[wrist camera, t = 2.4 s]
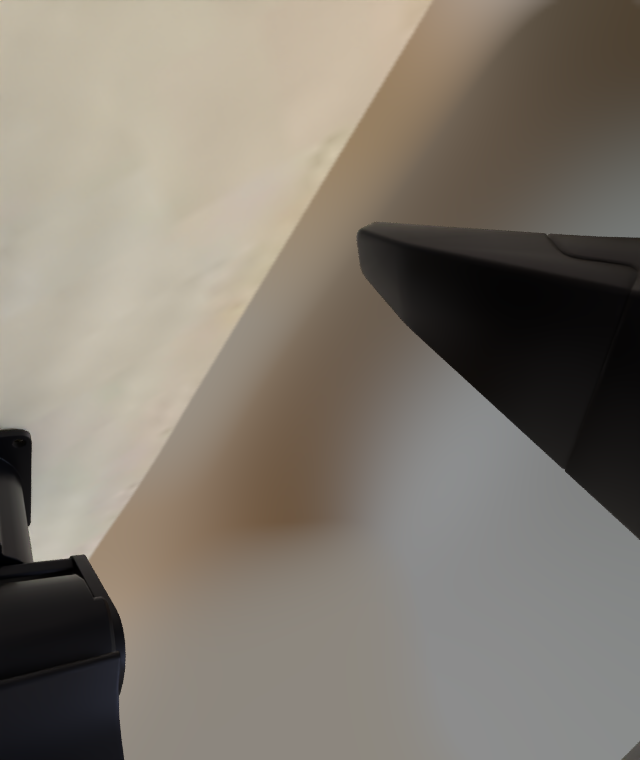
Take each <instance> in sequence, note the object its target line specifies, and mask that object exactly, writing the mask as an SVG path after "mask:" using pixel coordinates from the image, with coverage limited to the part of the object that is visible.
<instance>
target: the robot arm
mask: <svg viewBox="0 0 640 760" xmlns="http://www.w3.org/2000/svg"><path fill="white" fill-rule="evenodd" d="M357 246H358V253H359V261H360V267H361V270H362V273H363V274H364V276H365V278H366V279H367V280H368V281H369V282H370V284H371V285H372V286H373V287H374V288H375V289H376V291H377V292H378V293H379V294H380V295H381V296H382V298H383V299H384V300H385V301H386V302H387V303H388V305H389V306H390V307H391V308H392V309H393V310H394V312H395V313H396V314H397V315H398V316H399V317H400V319H401V320H402V321H403V322H404V323H405V324H406V325H407V326H408V327H409V328H410V329H411V330H412V331H413V332H414V333H415V334H416V335H418V336H419V337H420V338H421V339H422V340H423V341H424V342H425V343H426V344H427V345H428V346H430V347H431V348H432V349H433V350H434V351H435V352H436V353H437V354H438V355H439V356H440V357H441V358H443V359H444V360H445V361H446V362H447V363H448V364H449V365H450V366H451V367H452V368H453V369H455V370H456V371H457V372H458V373H459V374H460V375H461V376H462V377H463V378H464V379H465V380H467V381H468V382H469V383H470V384H471V385H472V386H473V387H474V388H475V389H476V390H477V391H479V392H480V393H481V394H482V395H483V396H484V397H485V398H486V399H488V401H489V402H491V403H492V404H493V405H494V406H495V407H496V408H497V409H498V410H499V411H500V412H502V413H503V414H504V415H505V416H506V417H507V418H508V419H509V420H510V421H511V422H512V423H513V424H514V425H516V426H517V427H518V428H519V429H520V430H521V431H522V432H523V433H524V434H525V435H527V436H528V437H529V438H530V439H531V440H532V441H533V442H534V443H535V444H536V445H537V446H539V447H540V448H541V449H542V450H543V451H544V452H545V453H546V454H547V455H548V456H549V457H551V458H552V459H553V460H554V461H555V462H556V463H557V464H558V465H559V466H560V467H561V468H563V469H565V472H566V473H567V474H569V475H570V476H571V477H572V478H573V479H574V480H575V481H576V482H577V483H578V484H579V485H581V486H582V487H583V488H584V489H585V490H586V491H587V492H588V493H589V494H590V495H591V496H593V497H594V498H595V499H596V500H597V501H598V502H599V503H600V504H601V505H602V506H604V507H605V508H606V509H607V510H608V511H609V512H610V513H612V515H613V516H614V517H615V518H617V519H618V520H619V521H620V522H621V523H622V524H623V525H625V527H626V528H628V529H629V530H630V531H631V532H632V533H633V534H634V535H635V536H636V537H637V538H639V540H640V238H626V237H596V236H577V235H561V234H549V235H548V236H547V235H546V234H544V233H531V232H515V231H502V230H488V229H472V228H457V227H443V226H430V225H415V224H400V223H386V222H374V223H371V224H369V225H367V226H365V227H363V228H361V229H360V230H359V231H358V232H357ZM18 439H22V441H21V442H14V441H15V440H18ZM31 452H32V441H31V436H30V433H28V432H27V431H25V430H9V431H0V760H124V755H123V747H122V741H121V740H122V739H121V730H120V720H119V695H120V692H121V688H122V684H123V678H124V672H125V657H126V656H125V655H126V654H125V639H124V632H123V627H122V623H121V619H120V616H119V614H118V612H117V610H116V608H115V606H114V604H113V603H112V601H111V599H110V598H109V596H108V594H107V592H106V590H105V589H104V587H103V585H102V584H101V582H100V580H99V578H98V577H97V575H96V573H95V571H94V570H93V568H92V566H91V564H90V563H89V561H88V559H87V557H86V556H85V555H76V556H70V558H69V559H59V560H50V561H41V562H33V557H32V550H31V544H30V537H29V531H28V526H29V525H30V523H31ZM622 760H640V742H639V743H638V744H637V745H636V746H635V747H634V748H633V749H632V750H631V751H630V752H629V753H628V754H627V755H626V756H625V757H624V758H623V759H622Z"/></svg>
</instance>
